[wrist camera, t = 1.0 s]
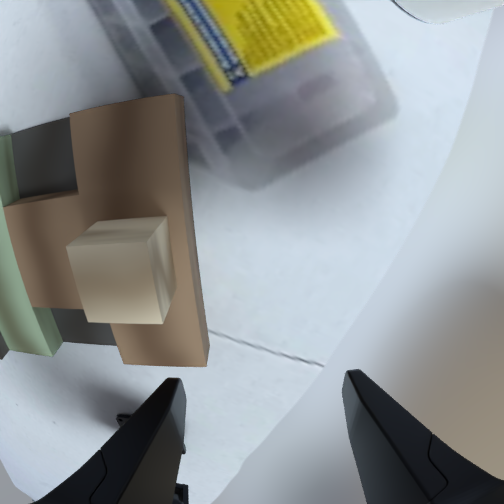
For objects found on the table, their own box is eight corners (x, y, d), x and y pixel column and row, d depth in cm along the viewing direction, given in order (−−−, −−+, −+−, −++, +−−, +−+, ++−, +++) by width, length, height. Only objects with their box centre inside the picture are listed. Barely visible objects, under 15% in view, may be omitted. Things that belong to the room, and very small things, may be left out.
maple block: (177, 286, 20) (162, 324, 16) (112, 287, 20) (88, 322, 16) (167, 215, 18) (146, 241, 14) (97, 221, 18) (65, 246, 14)
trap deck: (183, 96, 17) (167, 91, 14) (209, 345, 24) (204, 381, 21) (-35, 151, 18) (-66, 161, 14) (16, 334, 25) (-4, 358, 21)
